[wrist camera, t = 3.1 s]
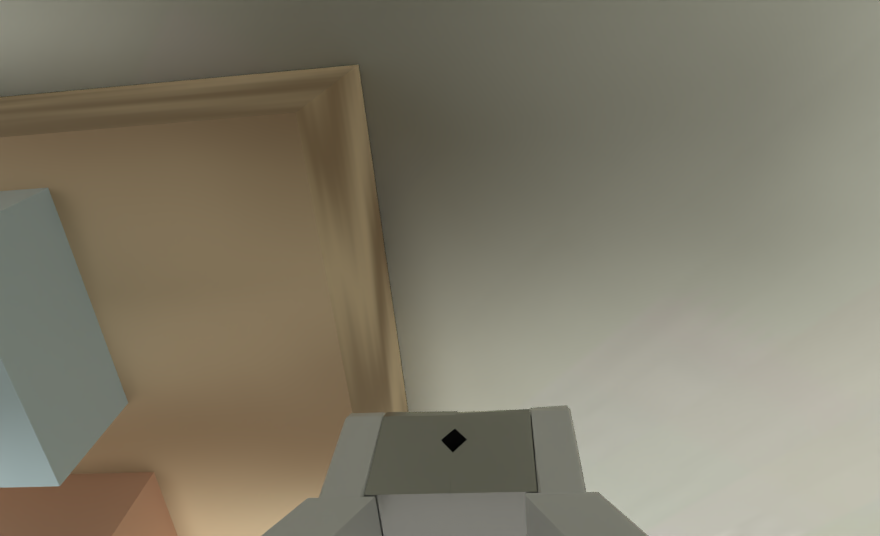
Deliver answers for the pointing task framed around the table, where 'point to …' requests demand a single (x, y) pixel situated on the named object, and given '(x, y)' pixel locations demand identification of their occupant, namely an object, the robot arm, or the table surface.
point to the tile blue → (47, 349)
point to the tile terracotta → (88, 507)
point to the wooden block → (222, 277)
